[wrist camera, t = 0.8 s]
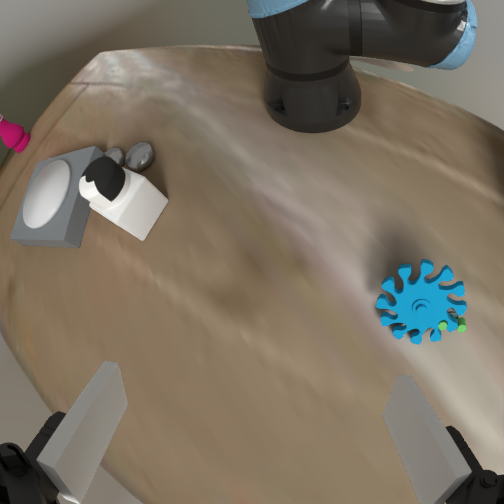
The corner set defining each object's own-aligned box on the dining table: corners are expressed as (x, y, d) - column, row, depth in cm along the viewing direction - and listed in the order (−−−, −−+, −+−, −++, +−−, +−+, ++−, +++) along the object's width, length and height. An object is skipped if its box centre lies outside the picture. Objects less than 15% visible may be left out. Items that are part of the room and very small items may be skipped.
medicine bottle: (139, 186, 46) (95, 145, 35) (170, 200, 43) (124, 156, 32) (115, 224, 44) (65, 190, 33) (144, 242, 42) (90, 207, 31)
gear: (357, 318, 30) (410, 246, 25) (367, 289, 35) (411, 224, 29) (433, 364, 28) (492, 305, 22) (434, 332, 32) (483, 275, 27)
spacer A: (135, 150, 49) (130, 144, 47) (159, 146, 48) (153, 139, 46) (127, 174, 48) (121, 168, 46) (151, 171, 46) (145, 164, 44)
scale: (49, 168, 56) (35, 158, 51) (108, 154, 50) (93, 140, 46) (23, 245, 50) (6, 237, 46) (79, 248, 45) (59, 238, 41)
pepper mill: (34, 130, 66) (-8, 94, 47) (25, 150, 63) (-21, 114, 45) (22, 137, 67) (-19, 104, 49) (13, 157, 65) (-30, 124, 47)
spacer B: (109, 155, 51) (103, 149, 49) (129, 151, 49) (123, 145, 48) (101, 178, 49) (94, 172, 47) (121, 175, 48) (114, 169, 46)
